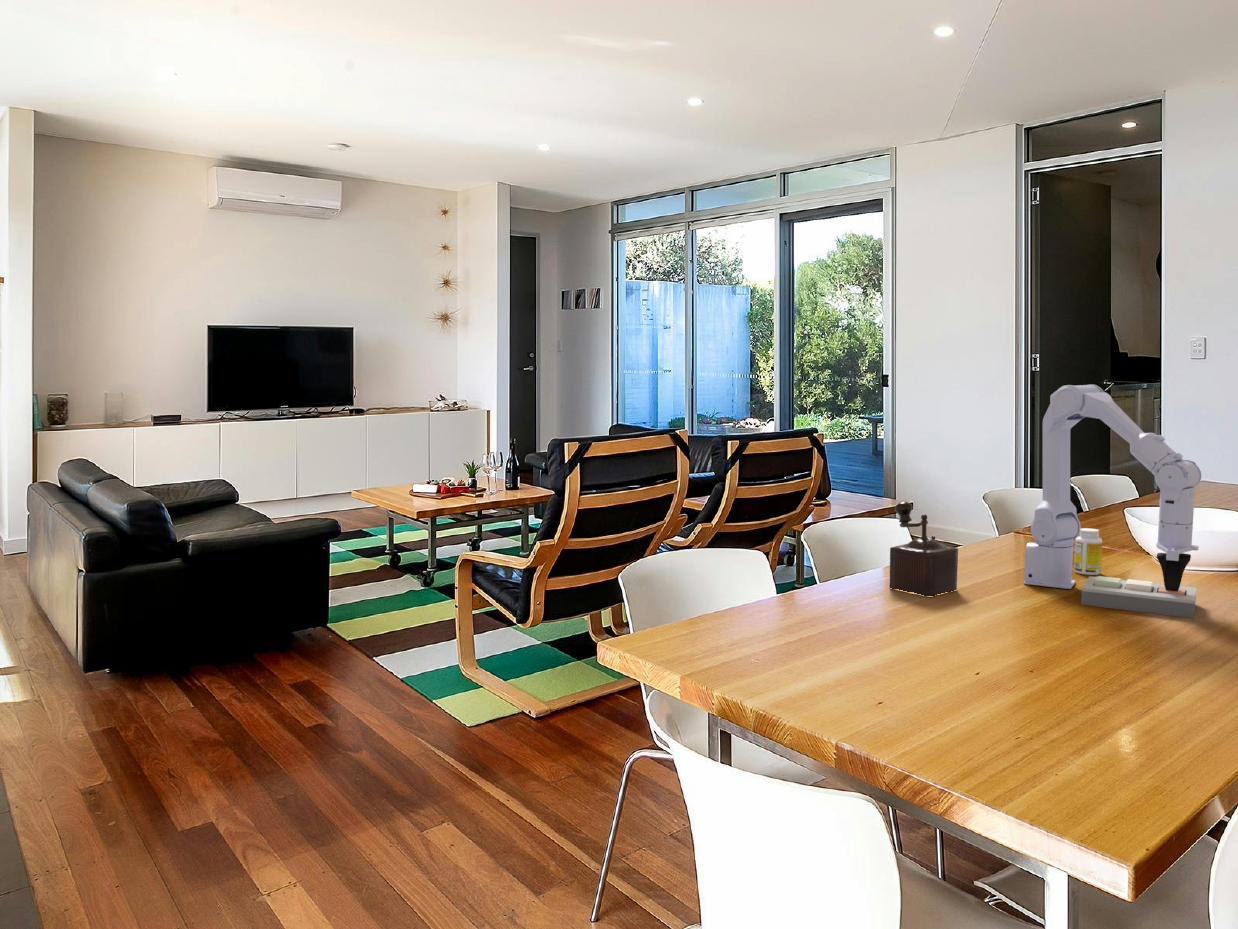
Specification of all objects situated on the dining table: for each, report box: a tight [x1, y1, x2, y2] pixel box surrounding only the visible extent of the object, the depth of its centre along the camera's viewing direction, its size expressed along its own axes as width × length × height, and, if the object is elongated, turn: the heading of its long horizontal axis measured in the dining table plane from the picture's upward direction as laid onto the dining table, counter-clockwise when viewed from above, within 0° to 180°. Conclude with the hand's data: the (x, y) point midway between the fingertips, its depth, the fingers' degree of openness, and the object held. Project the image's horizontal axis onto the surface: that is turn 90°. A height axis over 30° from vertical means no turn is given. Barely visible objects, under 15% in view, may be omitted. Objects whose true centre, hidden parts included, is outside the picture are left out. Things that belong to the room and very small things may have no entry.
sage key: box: [1094, 575, 1122, 588], centre depth 185 cm, size 4×4×2 cm
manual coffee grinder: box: [889, 501, 959, 597], centre depth 197 cm, size 16×11×18 cm
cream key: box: [1126, 578, 1154, 592], centre depth 182 cm, size 4×4×2 cm
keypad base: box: [1080, 576, 1197, 619], centre depth 182 cm, size 19×12×3 cm, turn 57°
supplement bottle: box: [1074, 527, 1103, 576], centre depth 210 cm, size 6×6×10 cm
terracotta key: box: [1158, 586, 1185, 596], centre depth 179 cm, size 4×4×2 cm
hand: (1171, 590), depth 179 cm, fingers closed, pressing on terracotta key
